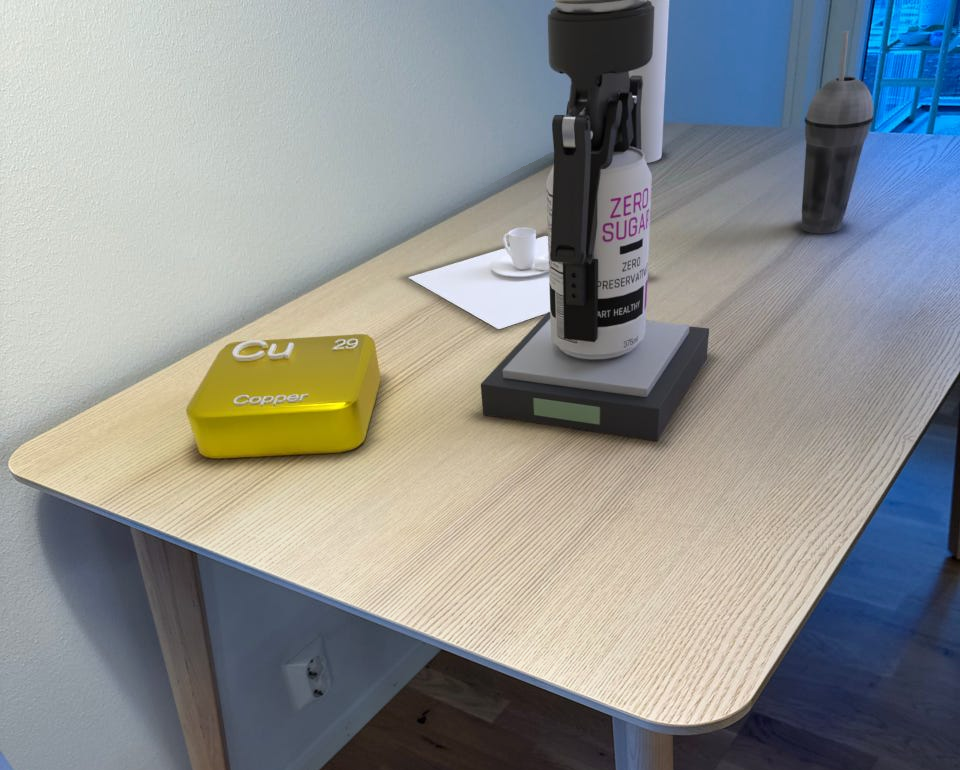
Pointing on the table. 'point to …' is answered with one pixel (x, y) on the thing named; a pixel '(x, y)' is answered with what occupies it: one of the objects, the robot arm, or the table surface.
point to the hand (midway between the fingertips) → (598, 317)
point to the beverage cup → (833, 148)
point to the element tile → (286, 397)
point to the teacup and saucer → (498, 281)
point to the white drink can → (612, 260)
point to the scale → (598, 382)
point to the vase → (654, 86)
